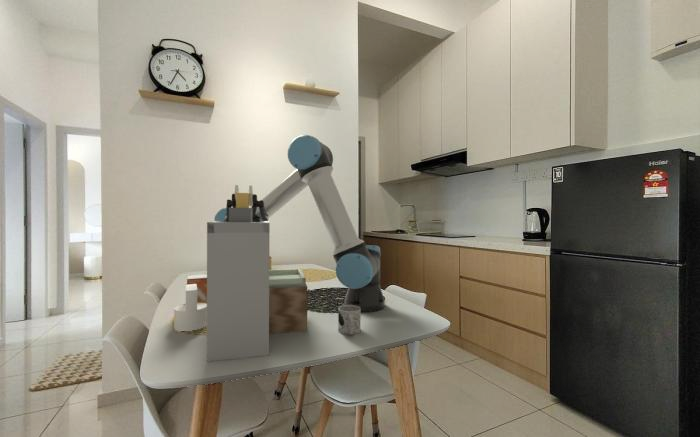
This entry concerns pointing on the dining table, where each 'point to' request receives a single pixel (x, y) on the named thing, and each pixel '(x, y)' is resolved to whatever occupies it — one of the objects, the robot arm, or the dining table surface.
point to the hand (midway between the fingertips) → (243, 189)
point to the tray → (286, 278)
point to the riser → (287, 309)
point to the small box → (199, 286)
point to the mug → (349, 319)
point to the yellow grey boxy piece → (241, 209)
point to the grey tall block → (237, 290)
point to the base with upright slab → (190, 312)
